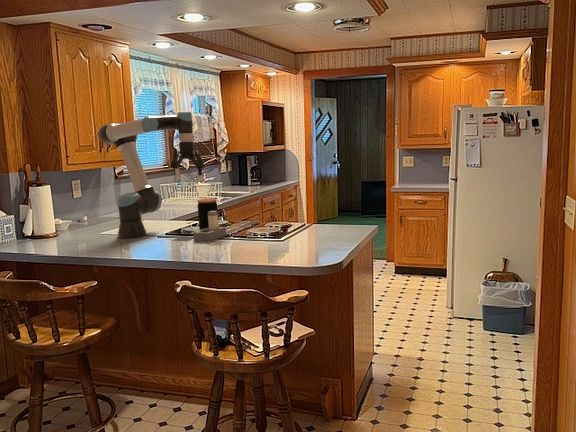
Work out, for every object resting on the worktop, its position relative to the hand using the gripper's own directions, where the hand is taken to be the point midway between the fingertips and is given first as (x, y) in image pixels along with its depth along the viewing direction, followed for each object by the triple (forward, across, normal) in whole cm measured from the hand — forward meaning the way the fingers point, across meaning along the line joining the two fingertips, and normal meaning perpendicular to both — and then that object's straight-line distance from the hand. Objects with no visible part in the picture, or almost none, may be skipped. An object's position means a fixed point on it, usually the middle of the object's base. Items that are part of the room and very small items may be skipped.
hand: (188, 181), depth 300 cm
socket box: (+29, +17, -8) cm, 34 cm away
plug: (+28, +17, -4) cm, 33 cm away
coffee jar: (+30, +6, +9) cm, 31 cm away
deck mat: (+29, +4, -12) cm, 32 cm away
